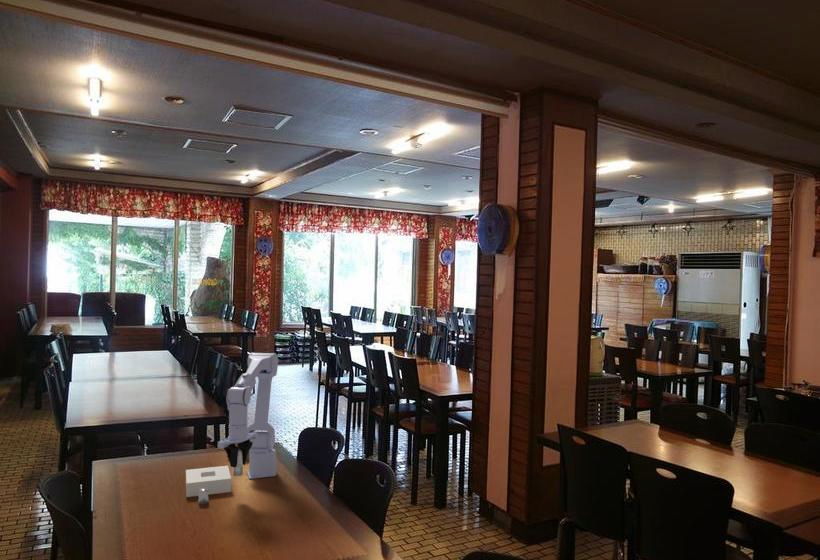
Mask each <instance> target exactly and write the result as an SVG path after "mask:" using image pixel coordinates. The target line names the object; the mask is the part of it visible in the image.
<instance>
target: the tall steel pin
mask: <svg viewBox="0 0 820 560" xmlns="http://www.w3.org/2000/svg"><path fill="white" fill-rule="evenodd" d="M243 466H244V465H243V449H239V451H238V455H237V466H236V467H235V468H234V467H232V476H233V477H241V476H243V474H244V472H243V471H244V470H243V468H244V467H243Z"/></svg>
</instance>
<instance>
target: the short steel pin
mask: <svg viewBox="0 0 820 560" xmlns="http://www.w3.org/2000/svg"><path fill="white" fill-rule="evenodd" d="M197 497H198V500H197V502H198V504H200V505H204V504H205V505H206V504H208V503H209V495H208V488H201V489H199V490H198V496H197Z"/></svg>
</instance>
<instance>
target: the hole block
mask: <svg viewBox="0 0 820 560" xmlns="http://www.w3.org/2000/svg"><path fill="white" fill-rule="evenodd" d="M201 488H208V496H209V495H216V494H217V495H218V494H225V493H231V492H232V475H231V472H230V469H229V465H220V466H211V467H202V468H201V467H200V468H193V469H192V468H191V469H185V493H186V498H191V497H192V498H193V497H198V490H199V489H201Z"/></svg>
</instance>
